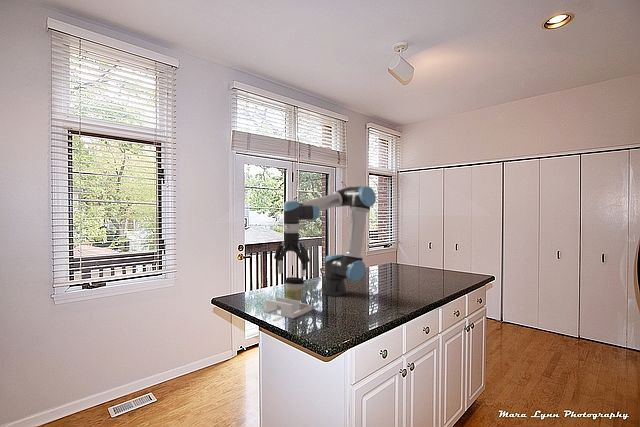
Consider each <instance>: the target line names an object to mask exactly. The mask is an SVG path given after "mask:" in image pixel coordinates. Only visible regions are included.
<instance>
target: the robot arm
mask: <svg viewBox="0 0 640 427" xmlns="http://www.w3.org/2000/svg"><path fill="white" fill-rule="evenodd" d="M376 201H377V200H376V193H375V191H374V189H373V188H372V187H371V186H367V185H359V186H349V187H344V188H342V189H339V190H336V191H334V192H332V193H331V194H328V195H325V196H320V197H317V198H313V199H310V200H307V201H302V202H299V201H297V200H296V201H295V200H294V201H293V200H292V201H289V200H287V201H285V202H284V204H283V232H284V233H283V240H282V241H281V240H280V241H278V247H277V249H276V251H275V253H274V256H273V259H274V260H276V262H277V264H276V266H277V267H278V268H277V270H278V275H280V274H284V265H283V264H284V260H283V259H284V257H285V256H286V254H287V253H288V252H294V253H295V254H296V256H297V257H298V259H299V260H300V262H301V263H300V274H299V275H300V277H299V278H303V277H305V276H306V270H307V263H310V261H311V260H310V258H309V255H308V253H307V250H306V248H305V243H304V242H299V241H300V221H308V220H309V221H310V220H311V221H314V220H317V219H318V218H319V217H320V214H321V211H324V210H328V209H331V208H335V207H336V208H339V207H349V209H350V210H351V214H350V222H349V228H348V234H347V242H346V248H345V252H344V253H342V254H332V255H331V254H329V255H326V256H325V261H324V263H325V264H324V266H325V268H324V282H323V286H322V288H321V293H322V295H325V296H330V297H343V296H346V295H347V294H348V288H347V285H346V282H345V279H346V280H348V281H354V282H356V281H359V280H361V279H362V278H363V277H364V275H365V273H366V269H367V268H366V265H365V262H364V261H363V259H364V257H363V255H362V248H363V241H364V240H363V239H364V234H365V226H366V222H367V214H368V213H369V212H370V211H371V207H373V206H374V205H375V203H376ZM345 294H346V295H345ZM342 295H343V296H342Z"/></svg>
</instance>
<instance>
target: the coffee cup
mask: <svg viewBox="0 0 640 427" xmlns="http://www.w3.org/2000/svg"><path fill="white" fill-rule="evenodd" d="M284 283H285V287H284V288H285V298H287V299H292V300H297V301H300V302H301V300H302V299H301V298H302V295H303V289H304V288H303V286H304V284H305V281H304V279H303V277H293V276H292V277H286V278H285V280H284Z"/></svg>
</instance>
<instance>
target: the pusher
mask: <svg viewBox="0 0 640 427" xmlns="http://www.w3.org/2000/svg"><path fill="white" fill-rule="evenodd" d="M275 301H278V302H283V303H288V304H293V313H294V312H296V311H299V310H301V308H300V303H301V300H300V301H297V300H292V299H287V298H286V297H280V296H275ZM279 310H281V306H278V305H277V308H276V309H273V310H271V311H268V313H267V314H268V315H269V314H272V312H274V311H277V312H278V311H279Z"/></svg>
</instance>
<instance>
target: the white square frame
mask: <svg viewBox="0 0 640 427" xmlns="http://www.w3.org/2000/svg"><path fill="white" fill-rule="evenodd" d="M277 305H278V306H281V309H280V316H281V317H285V318H289V319H296V318H298V317H300V316H302V315H304V314H306V313H309V312H310V311H312V310H314V305H312V304H308V303H302V302H300V310H299V311H296V312H293V304H288V303H283V302H278V301H276V300H272V299H266V300H265V307H264V308H263V309H264V310H263V312H265V313H267V314H268V311H271V310H273V309H276V308H277ZM271 314H272V315H277V314H278V310H277V311H274V312H272V313H271Z"/></svg>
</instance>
